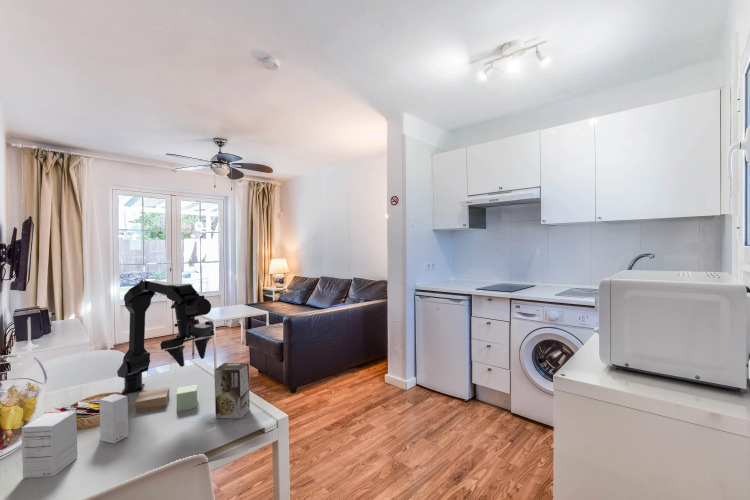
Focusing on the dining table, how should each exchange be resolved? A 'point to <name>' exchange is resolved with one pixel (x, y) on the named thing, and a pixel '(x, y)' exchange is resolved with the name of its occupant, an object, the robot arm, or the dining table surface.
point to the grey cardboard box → (232, 390)
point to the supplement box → (49, 444)
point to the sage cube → (187, 397)
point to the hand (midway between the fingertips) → (192, 362)
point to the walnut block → (152, 400)
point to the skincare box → (113, 418)
